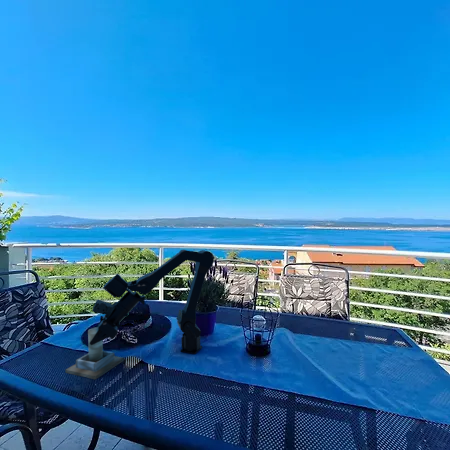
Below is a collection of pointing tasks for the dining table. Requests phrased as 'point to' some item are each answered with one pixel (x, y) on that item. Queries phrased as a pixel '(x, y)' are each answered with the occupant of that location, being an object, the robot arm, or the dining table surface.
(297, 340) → the dining table surface
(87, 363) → the socket
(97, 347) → the peg
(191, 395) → the dining table surface
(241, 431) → the dining table surface
